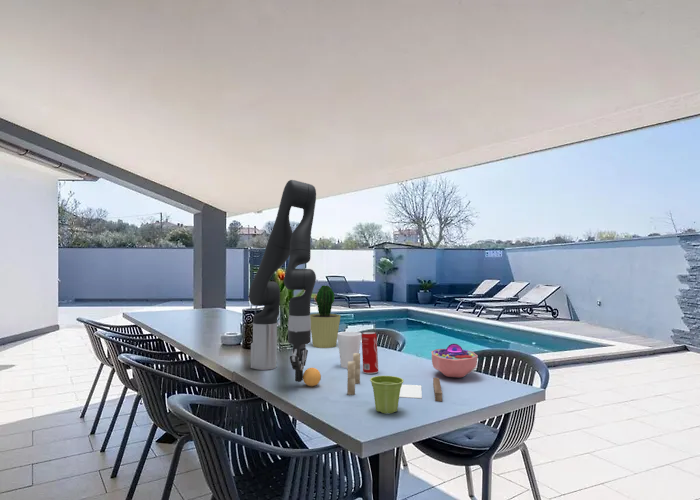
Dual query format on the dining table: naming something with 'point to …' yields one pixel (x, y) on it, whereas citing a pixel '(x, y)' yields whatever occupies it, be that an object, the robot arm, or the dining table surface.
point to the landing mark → (411, 391)
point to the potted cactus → (324, 320)
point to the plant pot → (386, 393)
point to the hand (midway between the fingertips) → (298, 381)
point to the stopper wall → (437, 389)
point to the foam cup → (348, 346)
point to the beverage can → (369, 352)
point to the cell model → (454, 361)
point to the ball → (311, 377)
